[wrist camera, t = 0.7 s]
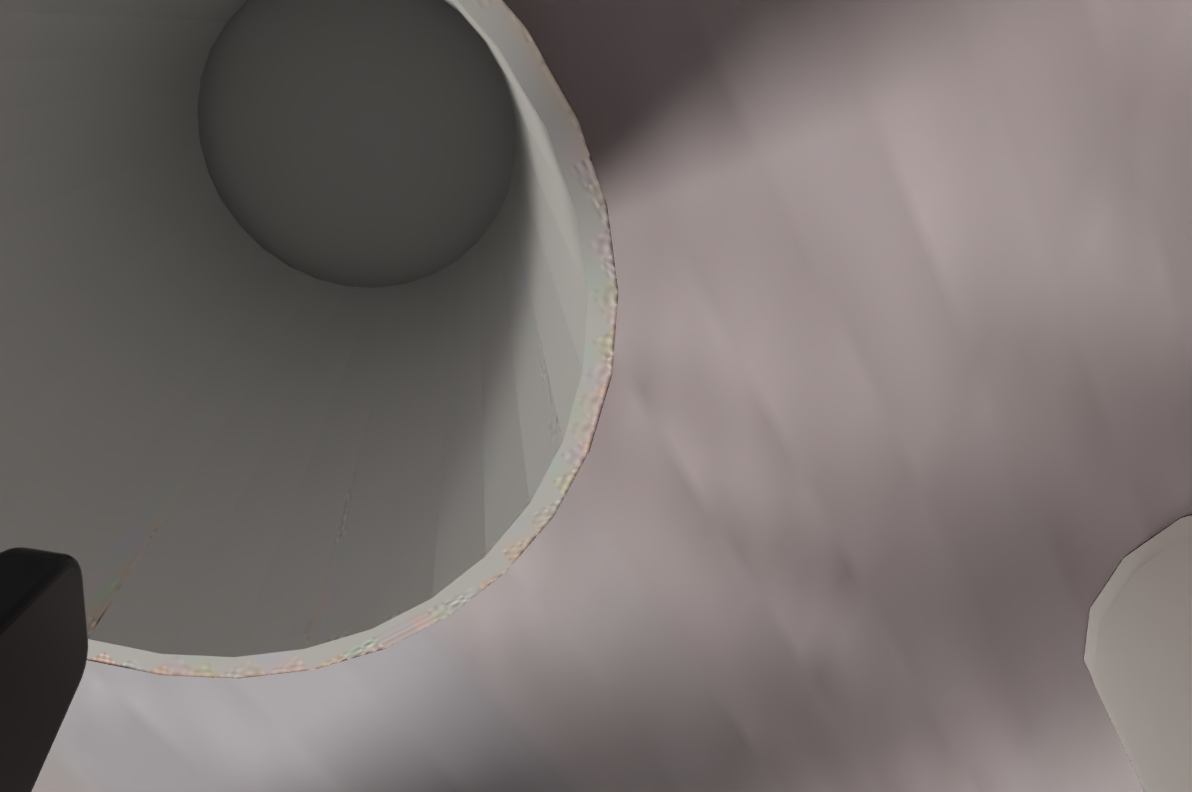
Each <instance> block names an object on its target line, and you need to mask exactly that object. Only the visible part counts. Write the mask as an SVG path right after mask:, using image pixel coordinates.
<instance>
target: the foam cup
mask: <svg viewBox="0 0 1192 792" xmlns="http://www.w3.org/2000/svg"><path fill="white" fill-rule="evenodd" d="M1084 662H1085V664H1086V666H1087V668H1088V670H1089V672H1090V674H1091V676H1092V681H1093V683H1094V685H1095V687H1096V689H1097V691H1098V693H1099V696H1100V698H1101V700H1102V702H1103V704H1104V706H1105V708H1106V710H1107V713H1108V715H1109V717H1110V719H1111V721H1112V723H1113V725H1114V727H1115V730H1116V732H1117V734H1118V736H1119V738H1120V740H1121V742H1122V744H1123V747H1124V749H1125V751H1126V753H1127V755H1128V757H1129V759H1130V761H1131V764H1132V766H1133V768H1134V770H1135V772H1136V774H1137V776H1138V778H1139V781H1140V783H1141V785H1142V787H1143V789H1144V791H1145V792H1192V515H1190V516H1187V517H1183V518H1180V519H1179V520H1177V521H1176V522H1174V523H1173V524H1171V525H1170V526H1169V527H1167V528H1166V529H1164V530H1163V531H1161V532H1160V533H1158V534H1157V535H1156V536H1154V537H1153V538H1151V539H1150V540H1148V541H1147V542H1146V543H1144V544H1143V545H1141V546H1140V547H1138V548H1137V549H1136V550H1134V551H1133V552H1131V553H1130V554H1128V555H1127V556H1125V557H1124V558H1123V560H1122V561H1121V563H1120V564H1119V566H1118V567H1117V569H1116V570H1115V572H1114V573H1113V575H1112V576H1111V578H1110V579H1109V581H1108V582H1107V584H1106V585H1105V587H1104V588H1103V590H1102V591H1101V593H1100V594H1099V596H1098V597H1097V599H1096V600H1095V602H1094V603H1093V605H1092V606H1091V608H1090V612H1089V621H1088V629H1087V638H1086V646H1085V655H1084Z"/></svg>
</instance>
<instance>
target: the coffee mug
mask: <svg viewBox="0 0 1192 792" xmlns="http://www.w3.org/2000/svg"><path fill="white" fill-rule="evenodd" d="M617 303H618V287H617V279H616V271H615V263H614V256H613V248H612V240H611V232H610V224H609V217H608V209H607V204H606V201H605V198H604V195H603V192H602V189H601V186H600V183H599V180H598V177H597V174H596V171H595V168H594V165H593V162H592V159H591V156H590V153H589V151H588V148H587V145H586V142H585V139H584V136H583V133H582V130H581V127H580V124H579V121H578V118H577V115H576V114H575V112H574V110H573V108H572V107H571V105H570V103H569V101H568V100H567V98H566V96H565V94H564V93H563V91H562V89H561V87H560V86H559V84H558V82H557V80H556V79H555V77H554V75H553V73H552V72H551V70H550V68H549V66H548V65H547V63H546V61H545V59H544V58H543V56H542V54H541V52H540V51H539V49H538V47H537V45H536V44H535V42H534V40H533V38H532V37H531V35H530V33H529V31H528V30H527V28H526V27H525V26H524V25H523V23H522V22H521V21H520V20H519V19H518V18H517V16H516V15H515V14H514V13H513V12H512V11H511V9H510V8H509V7H508V6H507V5H506V4H505V2H504V1H503V0H0V552H3V551H5V550H8V549H10V548H15V547H26V548H32V549H38V550H45V551H51V552H58V553H64V554H68V555H70V556H72V557H74V558H75V559H76V560H77V561H78V563H79V565H80V567H81V572H82V578H83V589H84V601H85V612H86V623H87V635H88V655H87V660H89V661H94V662H99V663H104V664H109V665H114V666H119V667H124V668H129V669H134V670H139V671H144V672H149V673H154V674H159V675H173V676H196V677H218V678H246V677H255V676H264V675H272V674H281V673H289V672H298V671H306V670H314V669H317V668H321V667H324V666H328V665H331V664H334V663H338V662H341V661H345V660H348V659H351V658H355V657H358V656H362V655H365V654H368V653H372V652H375V651H379V650H382V649H385V648H387V647H389V646H391V645H393V644H395V643H397V642H399V641H401V640H403V639H405V638H407V637H409V636H411V635H413V634H415V633H417V632H419V631H421V630H423V629H424V628H426V627H428V626H430V625H432V624H434V623H436V622H438V621H440V620H442V619H444V618H446V617H448V616H450V615H451V614H452V613H454V612H455V611H456V610H458V609H459V608H460V607H461V606H463V605H464V604H465V603H467V602H468V601H469V600H470V599H472V598H473V597H474V596H476V595H477V594H478V593H479V592H481V591H482V590H483V589H485V588H486V587H487V586H488V585H490V584H491V583H492V582H494V581H495V580H496V579H497V578H499V577H500V576H501V575H503V574H504V573H505V572H506V571H507V570H508V569H509V568H510V567H511V566H512V564H513V563H514V562H515V561H516V560H517V559H518V557H519V556H520V555H521V554H522V553H523V552H524V550H525V549H526V548H527V547H528V546H529V545H530V543H531V542H532V541H533V540H534V539H535V538H536V536H537V535H538V534H539V533H540V532H541V531H542V529H543V528H544V527H545V526H546V525H547V524H548V522H549V521H550V520H551V519H552V518H553V517H554V515H555V513H556V511H557V509H558V507H559V506H560V504H561V502H562V500H563V498H564V496H565V495H566V493H567V491H568V489H569V487H570V485H571V484H572V482H573V480H574V478H575V476H576V474H577V473H578V471H579V469H580V467H581V465H582V463H583V462H584V460H585V458H586V456H587V454H588V452H589V451H590V447H591V444H592V441H593V437H594V434H595V431H596V427H597V424H598V420H599V417H600V414H601V410H602V407H603V404H604V400H605V397H606V393H607V390H608V387H609V383H610V380H611V377H612V367H613V354H614V341H615V328H616V316H617Z"/></svg>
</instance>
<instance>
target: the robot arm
mask: <svg viewBox="0 0 1192 792" xmlns="http://www.w3.org/2000/svg"><path fill="white" fill-rule="evenodd" d="M87 655H88V635H87V623H86V612H85V601H84V589H83V578H82V572H81V567H80V565H79V563H78V561H77V560H76V559H75V558H74V557H72V556H70V555H68V554H64V553H58V552H51V551H45V550H38V549H32V548H26V547H15V548H10V549H8V550H5V551H3V552H0V792H31V791H32V789H33V787H34V784H35V782H36V780H37V778H38V776H39V773H40V771H41V769H42V767H43V764H44V762H45V760H46V758H47V755H48V753H49V751H50V749H51V746H52V744H53V742H54V740H55V737H56V735H57V733H58V731H59V728H60V726H61V724H62V722H63V719H64V717H65V715H66V713H67V710H68V708H69V706H70V704H71V701H72V699H73V697H74V695H75V692H76V690H77V688H78V686H79V683H80V681H81V678H82V676H83V672H84V669H85V665H86V661H87Z"/></svg>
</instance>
